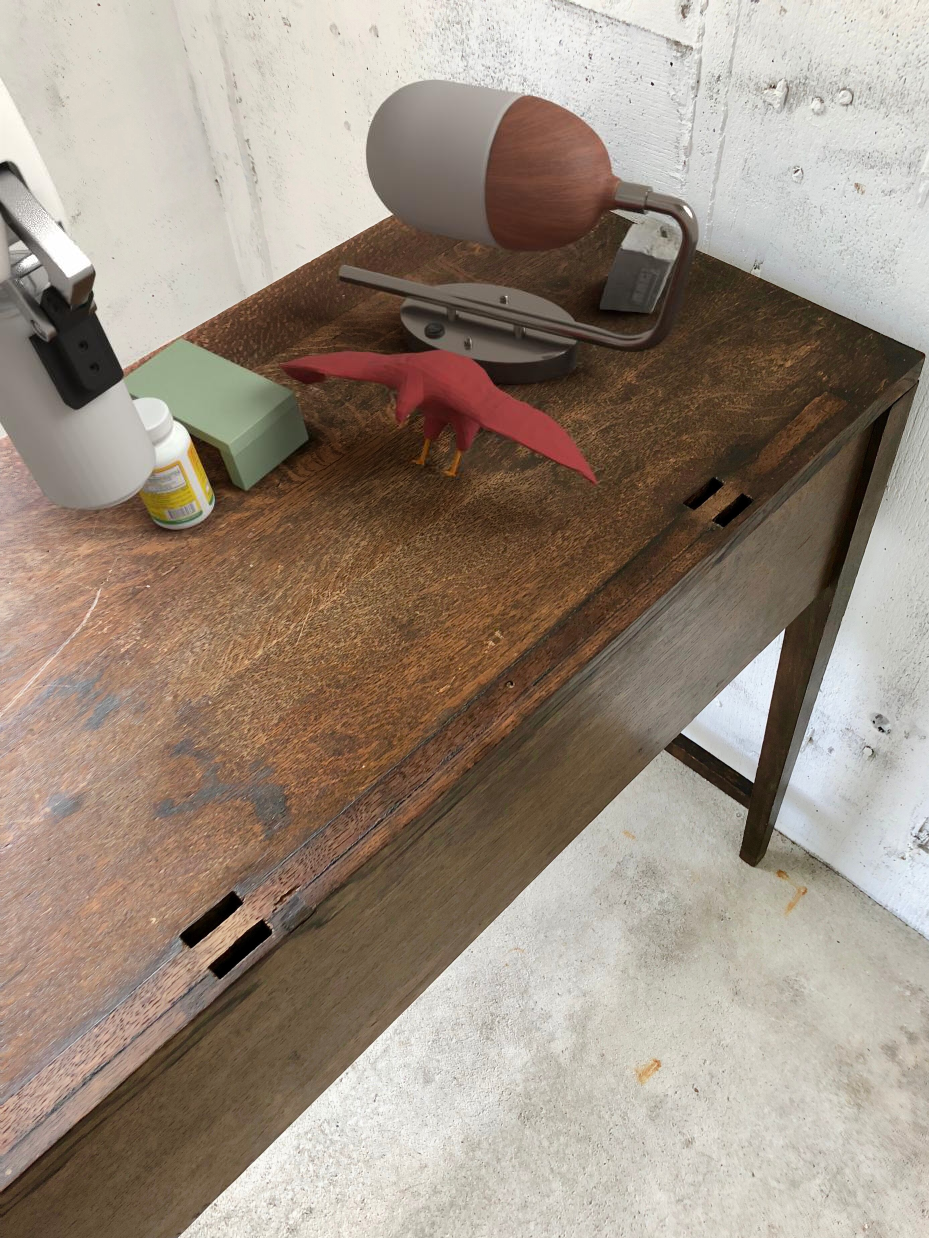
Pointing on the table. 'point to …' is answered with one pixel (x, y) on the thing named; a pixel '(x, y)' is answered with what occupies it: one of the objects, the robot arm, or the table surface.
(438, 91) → the light fixture
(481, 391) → the decorative bird sculpture
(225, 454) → the shelf
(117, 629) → the table surface
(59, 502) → the beverage can
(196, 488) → the supplement bottle
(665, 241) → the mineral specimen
